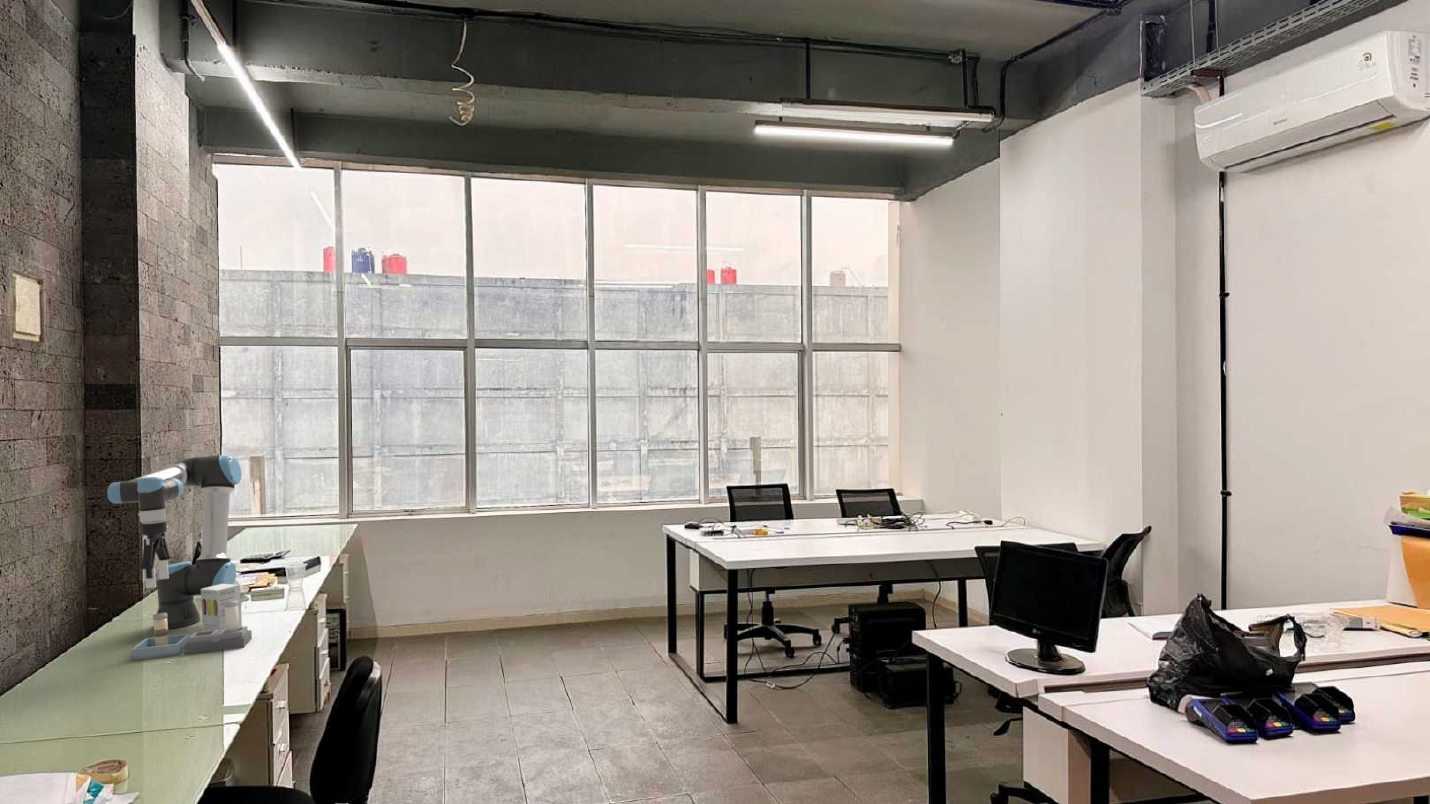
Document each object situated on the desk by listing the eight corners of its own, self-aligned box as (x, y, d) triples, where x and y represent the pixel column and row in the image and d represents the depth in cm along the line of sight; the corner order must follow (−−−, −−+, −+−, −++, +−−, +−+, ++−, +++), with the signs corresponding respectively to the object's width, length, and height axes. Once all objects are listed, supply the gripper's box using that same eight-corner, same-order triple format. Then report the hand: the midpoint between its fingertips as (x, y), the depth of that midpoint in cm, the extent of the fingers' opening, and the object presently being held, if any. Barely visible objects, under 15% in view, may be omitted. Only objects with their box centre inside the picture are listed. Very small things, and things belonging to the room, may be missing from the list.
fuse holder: (194, 645, 305) (192, 602, 304) (251, 638, 310) (249, 596, 309) (185, 654, 294) (182, 610, 294) (244, 647, 299) (241, 603, 299)
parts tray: (146, 648, 304) (145, 638, 304) (191, 643, 308) (190, 633, 308) (131, 660, 290) (130, 649, 290) (178, 654, 294) (178, 644, 294)
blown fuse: (157, 648, 300) (155, 613, 300) (171, 646, 302) (169, 612, 301) (153, 651, 296) (150, 616, 296) (167, 649, 298) (164, 615, 297)
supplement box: (202, 634, 319) (199, 588, 318) (224, 627, 327) (222, 583, 327) (220, 636, 315) (217, 590, 315) (243, 629, 324) (240, 584, 323)
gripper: (152, 517, 310) (157, 576, 311) (127, 528, 286) (132, 592, 287) (176, 515, 312) (181, 574, 313) (153, 526, 288) (158, 590, 289)
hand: (157, 583), depth 300 cm, fingers open, 13 cm apart
